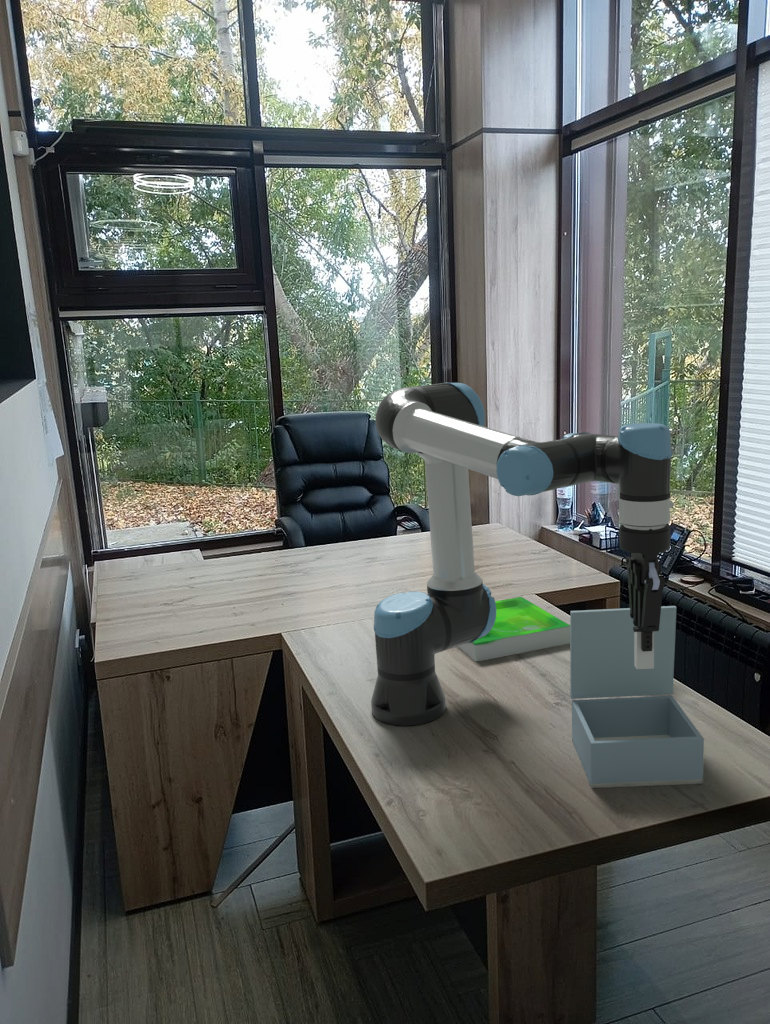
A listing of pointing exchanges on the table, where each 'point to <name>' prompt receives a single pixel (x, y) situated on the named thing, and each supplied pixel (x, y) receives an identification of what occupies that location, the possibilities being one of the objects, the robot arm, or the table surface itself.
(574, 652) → the lid
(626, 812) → the table surface
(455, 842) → the table surface
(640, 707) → the box
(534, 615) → the tray
